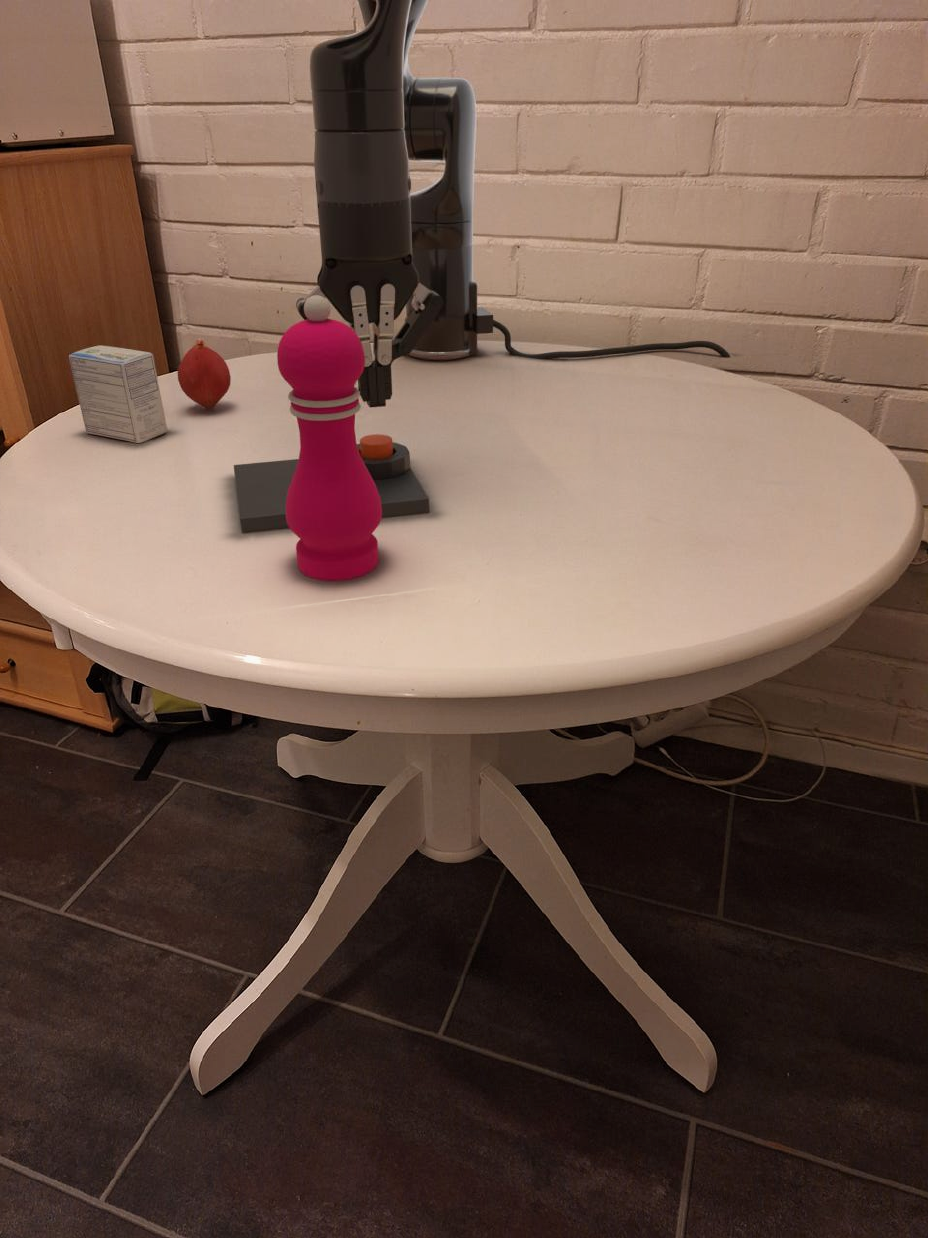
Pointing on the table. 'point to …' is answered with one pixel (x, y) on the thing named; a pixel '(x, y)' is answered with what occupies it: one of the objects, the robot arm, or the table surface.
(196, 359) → the onion
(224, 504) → the table surface
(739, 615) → the table surface
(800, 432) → the table surface
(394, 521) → the table surface
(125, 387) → the medicine box
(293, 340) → the pepper mill
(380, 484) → the scale
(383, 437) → the button
